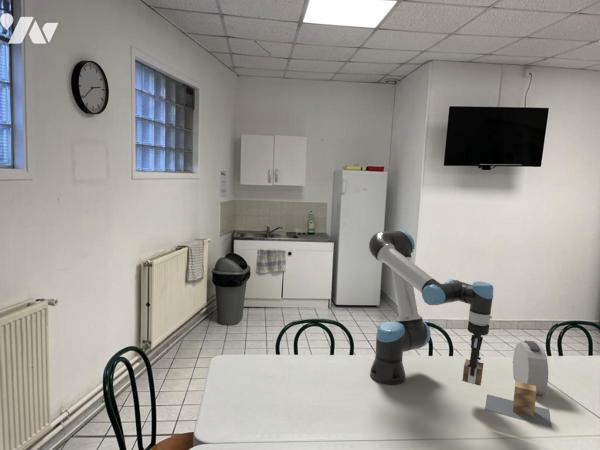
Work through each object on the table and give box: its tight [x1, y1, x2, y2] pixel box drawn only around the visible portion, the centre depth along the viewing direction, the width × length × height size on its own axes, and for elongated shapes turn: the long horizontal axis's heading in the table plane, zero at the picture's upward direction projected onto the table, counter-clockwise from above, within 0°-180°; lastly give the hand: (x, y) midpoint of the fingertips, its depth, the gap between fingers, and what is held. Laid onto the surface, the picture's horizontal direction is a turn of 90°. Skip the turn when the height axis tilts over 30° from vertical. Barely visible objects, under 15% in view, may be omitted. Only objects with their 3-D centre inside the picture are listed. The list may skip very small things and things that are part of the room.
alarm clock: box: [512, 340, 549, 396], centre depth 182 cm, size 21×8×20 cm, turn 168°
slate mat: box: [484, 394, 553, 428], centre depth 162 cm, size 22×14×1 cm, turn 63°
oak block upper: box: [513, 380, 537, 405], centre depth 161 cm, size 7×5×5 cm
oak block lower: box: [512, 398, 536, 417], centre depth 161 cm, size 7×5×5 cm
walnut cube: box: [461, 358, 484, 386], centre depth 165 cm, size 6×6×6 cm
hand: (472, 378), depth 166 cm, fingers closed on walnut cube, 6 cm apart
